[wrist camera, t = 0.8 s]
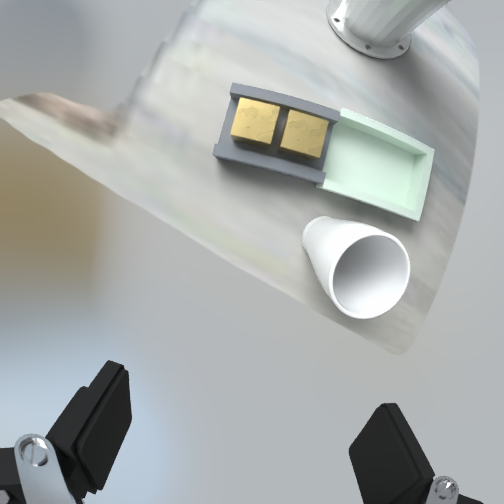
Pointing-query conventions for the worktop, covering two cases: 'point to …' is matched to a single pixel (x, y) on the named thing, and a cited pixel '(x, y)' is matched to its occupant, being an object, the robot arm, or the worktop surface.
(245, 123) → the gold cube
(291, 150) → the tan cube
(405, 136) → the tray
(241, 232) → the worktop surface
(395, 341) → the worktop surface
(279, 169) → the slot board
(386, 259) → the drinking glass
